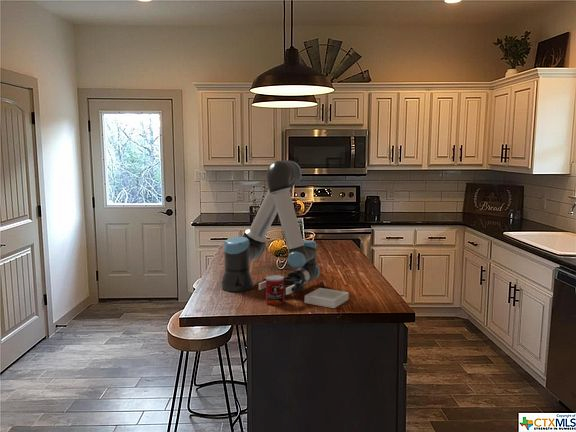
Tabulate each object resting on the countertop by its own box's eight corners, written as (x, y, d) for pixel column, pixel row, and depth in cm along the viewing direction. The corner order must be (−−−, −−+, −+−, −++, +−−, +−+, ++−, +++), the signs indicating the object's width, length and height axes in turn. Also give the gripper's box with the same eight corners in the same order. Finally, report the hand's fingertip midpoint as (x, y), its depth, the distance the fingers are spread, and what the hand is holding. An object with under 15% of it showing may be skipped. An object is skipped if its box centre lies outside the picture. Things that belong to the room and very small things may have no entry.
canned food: (266, 305, 195) (265, 279, 193) (266, 299, 202) (265, 275, 201) (284, 305, 195) (284, 279, 194) (283, 299, 203) (283, 274, 202)
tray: (304, 302, 198) (304, 295, 198) (319, 294, 210) (320, 287, 209) (334, 308, 191) (334, 300, 190) (348, 299, 202) (348, 292, 202)
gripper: (322, 289, 208) (298, 302, 190) (275, 282, 221) (248, 293, 203) (322, 273, 207) (298, 284, 189) (275, 266, 220) (248, 276, 202)
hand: (272, 289), depth 196 cm, fingers open, 13 cm apart
